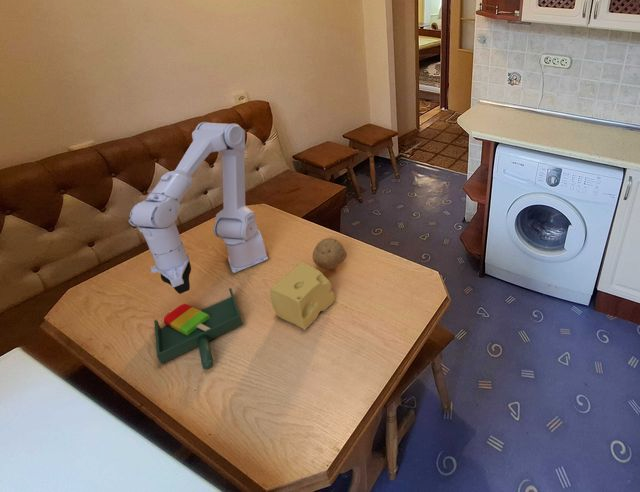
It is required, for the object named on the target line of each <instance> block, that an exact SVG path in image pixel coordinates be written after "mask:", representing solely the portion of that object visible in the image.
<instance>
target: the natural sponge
mask: <svg viewBox="0 0 640 492" xmlns="http://www.w3.org/2000/svg"><path fill="white" fill-rule="evenodd" d="M346 258H347V250H346V248H344V246H343V244H342V243H341V242H340V241H339V240H338V239H336V238H333V237H326V238H323V239H321V240H320V241H319V242H317V244H316V245H315V247H314V249H313V252H312V261H313V263H314V264H315V265H316V266H318V267H320V268H321V269H323V270H326V271H332V270H334V269H336V268H337V267H338V266H339V265H340V264H342V263H343V262H344V261H345V260H346Z"/></svg>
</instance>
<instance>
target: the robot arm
mask: <svg viewBox="0 0 640 492" xmlns="http://www.w3.org/2000/svg"><path fill="white" fill-rule="evenodd" d="M191 138H192V142H191V143H190V145H189V147H188V148H187V150H186V152H185V153H184V155H183V156H182V158H181V160H180V161H179V163H178V164H177V166H176V168H175V169H174V170H171V171H167V172H165V173H164V174H162V175H161V177H160V180H159V182H158V183H157V184H156V185H155V187H154V188H153V189H152V190H151V192H150V193H149V194H148V196H147V197H146V198H145V199H144V200H141V201H140V202H138V203H136V204H135V205H134V206H133V207H132V209H131V210H130V213H129V219H128V223H129V224H130V225H131V226H132V227H136V228H138V230H139V233H141V234H142V236H143V238H144V240H145V242H146V244H147V247H148V250H149V251H150V254H151V256H152V259H153V261H154V263H155V265H152V266H151V267H150V272H151V274H156V273H159V274H160V279H161V281H162V282H163V283H166V284H168V285H170V286H171V287H172V289H174V290H175V292H177V294H179V295H181V294H183V293H186V292H188V291H190V288H191V285H190V274H191V272H192V264H191V261H190V256H189V254H188V253H187V251H186V248H185V245H184V243H183V240H182V238H181V234H180V232H179V229H178V226H177V224H176V222H175V221H176V220H177V219H178V217H179V209H180V207H181V201H182V200H183V199H184V197H185V195H186V194H187V193H188V191H189V189H190V188H191V186H192V185H193V180H192V176H193V174H194V173H195V172H196V171H197V170H198V168H200V166H201V165H202V164H203V162H204V161H205V160H206V159H207V158H208V157H209V155H210V154H211V153H216V152H217V153H219V154H220V155H221V162H222V164H221V165H222V198H223V200H222V202H223V203H222V205H223V208H222V209H220V210H219V212H217V213H216V214H215V222H214V224H213V233H214V236H215V237H217V238H220V239H221V241H222V242H224V244H225V248H226V252H227V255H228V258H227V261H228V264H229V267H230V269H231V273H232V274H236V273H238V272H241V271H243V270H246V269H248V268H250V267H253V266H256V265H258V264H261V263H264V262H265V261H268V260H269V257H268V254H267V248H266V245H265V242H264V239H263V236H262V233H261V230H260V229H258V221H257V220H256V213H255V212H254V211H253V210H252V209H250V208H249V207H248V206H247V205H246V170H245V169H246V168H245V164H246V163H245V161H246V160H245V158H246V157H245V151H246V130H245V129H244V128H242V127H241V125H239V124H238V123H223V122H222V123H221V122H209V121H202V122H199V123H198V124H197V125H196V127H195V129H194V130H193V131H192V133H191Z"/></svg>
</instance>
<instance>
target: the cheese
mask: <svg viewBox="0 0 640 492" xmlns="http://www.w3.org/2000/svg"><path fill="white" fill-rule="evenodd" d="M331 289H332V283H331V281H330V280H329V279H328V278H327V277H326V276H325V275H324V273H323V272H322V271H320V270H318V269H317V268H315V267H314V266H312V265H309V264H308V263H305V262H302V261H301V262H299V264H298V265H296V266H295V267H294V268H293V269H292V270H291V271H289V272H288V273H287V275H285V276H284V277H282V279H280V280H279V281H278V282H277V283H275V284H274V285H273V286H271V287H270V301H271V305H272V308H273V310H274V312H275V314H276V315H277V317H278V318H280V319H283V320H284V321H286V322H288V323H291V324H292V325H294V326H296V327H299V328H300V329H302V330H304V331H305V330H307V329H308V328H309V327H310V326H311V324H312V323H314V321H316V320H317V319H318V317H319V314H320V312H321V311H322V312H324V311H326V310H328V308H329V307H330V306H331V305H333V304H334V303H335V301H336V300H335V299H336V297H335V293H334V292H333V291H332V290H331Z"/></svg>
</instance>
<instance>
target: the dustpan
mask: <svg viewBox="0 0 640 492" xmlns="http://www.w3.org/2000/svg"><path fill="white" fill-rule="evenodd" d="M228 291H229V293H230V297H229V298H226V299H224V300H221V301H219V302H217V303H215V304H213V305H210V306H208V307H206V308H203V309H201V310H200V311H202V312H204V313H206V314H208V315H209V317H210V318H209V319H208V320H207V321H206V322H204V323H203V325H205V326H207V327H209V328H210V329H208V330H206V331H203V330H201V329H199V328H197V329H196V330H194V331H193V332H192V333H191V334H189V335H188V336H187V335H185V334H183V333H181V332H179V331H177V330H175V329H174V328H172V327H170V326H168V325H165V326H163V327H161V325H160V323H159V321H158V319H154V334H155V348H156V357H157V359H158V360H159V361H158V362H159V363H160V365H164V364H165V363H167V362H169V361H171V360H174V359H175V358H177V357H179V356H181V355H184V354H186V353H188V352H189V351H192V350H194V349H195V348H198V351H199V356H200V362H201V367H202V369H203V370H206V371H208V370H210V369H212V368H213V366H214V362H215V361H214V357H213V353H212V348H211V344H210V341H213V340H214V339H216V338H218V337H220V336H222V335H224V334H226V333H229V332H230V331H232V330H234V329H236V328H238V327H241V326H242V325H244V323H243V320H242V317H241V314H240V311H239V307H238V305H237V304H238V303H237V301H236V298H235V295H234V293H233V290H232V288H231V287H230V288H228Z"/></svg>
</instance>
